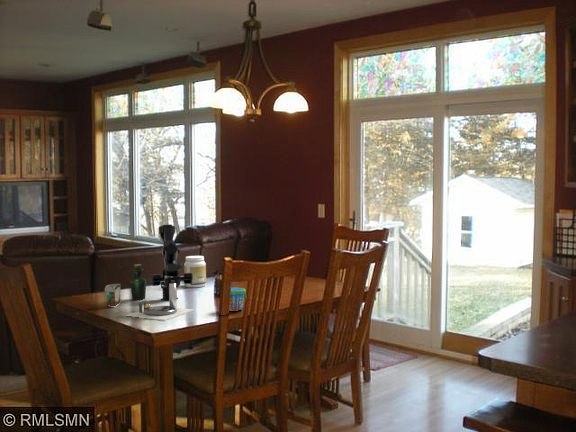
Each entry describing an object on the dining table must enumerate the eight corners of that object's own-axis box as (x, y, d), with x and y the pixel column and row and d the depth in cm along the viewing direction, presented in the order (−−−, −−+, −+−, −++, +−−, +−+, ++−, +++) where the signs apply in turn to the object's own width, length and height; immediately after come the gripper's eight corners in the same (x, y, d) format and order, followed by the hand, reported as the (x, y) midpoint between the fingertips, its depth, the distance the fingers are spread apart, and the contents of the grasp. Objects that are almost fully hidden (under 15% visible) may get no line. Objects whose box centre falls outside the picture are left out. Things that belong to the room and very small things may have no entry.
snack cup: (238, 306, 313) (237, 285, 312) (254, 309, 306) (253, 287, 305) (214, 312, 301) (214, 290, 300) (230, 315, 294) (230, 292, 294)
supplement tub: (210, 285, 373) (209, 256, 372) (197, 288, 362) (196, 258, 361) (193, 283, 379) (193, 254, 378) (180, 286, 369) (179, 257, 368)
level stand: (126, 316, 294) (125, 305, 294) (156, 307, 314) (155, 296, 313) (165, 320, 284) (164, 308, 284) (193, 310, 304) (193, 299, 304)
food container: (108, 303, 325) (108, 283, 324) (121, 303, 325) (120, 283, 324) (102, 308, 312) (101, 288, 312) (114, 308, 312) (114, 287, 312)
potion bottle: (139, 297, 339) (138, 263, 338) (150, 298, 335) (149, 264, 334) (127, 299, 333) (126, 265, 331) (138, 301, 328) (137, 266, 327)
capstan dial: (137, 312, 299) (136, 283, 298) (164, 306, 310) (163, 279, 309) (156, 316, 288) (155, 287, 288) (183, 311, 299) (182, 283, 298)
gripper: (151, 257, 301) (153, 285, 292) (191, 255, 306) (194, 282, 296) (151, 271, 310) (153, 299, 300) (190, 269, 314) (193, 296, 304)
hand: (173, 293), depth 300 cm, fingers closed, pressing on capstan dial
